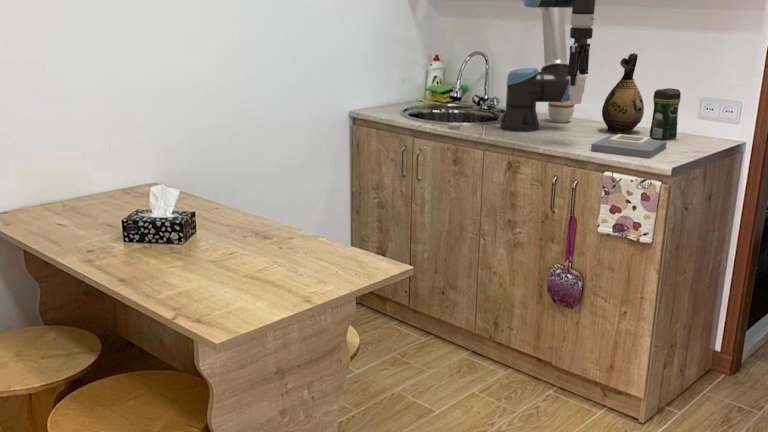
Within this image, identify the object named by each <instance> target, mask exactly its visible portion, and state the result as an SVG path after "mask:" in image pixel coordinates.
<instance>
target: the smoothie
mask: <svg viewBox="0 0 768 432" xmlns="http://www.w3.org/2000/svg"><path fill="white" fill-rule="evenodd" d="M577 76H578V87H577V95H570V101H569V102H570V103H571V104H575V105H580V104H582V99H583V95H584V93H583V91H584V92H585V86H586V82H587V81H586V80H587V78H588V75H587V74H585V75H577ZM569 84H570V76H569Z"/></svg>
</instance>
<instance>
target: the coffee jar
mask: <svg viewBox="0 0 768 432" xmlns="http://www.w3.org/2000/svg"><path fill="white" fill-rule="evenodd" d="M681 95H682V94H681V91H680V89H678V88H677V89H676V88H672V87H671V88H670V87H668V88H659V89H656V90H655V91H654V94H653V98H652V101H653V111H652V118H651V125H650V131H649V138H650V139H652V140H660V141H669V140H673V139H676V138H677V136H678V135H677V134H678V113H679V105H680V103H681Z"/></svg>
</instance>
